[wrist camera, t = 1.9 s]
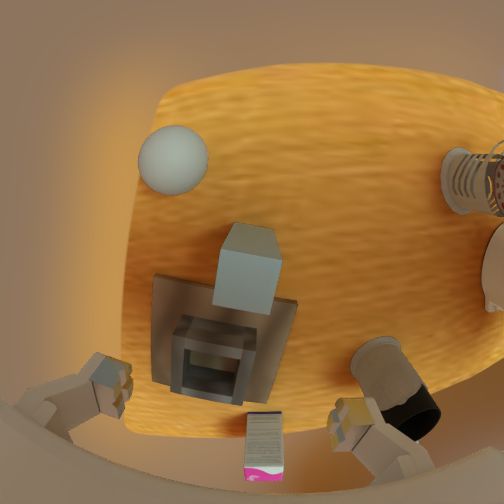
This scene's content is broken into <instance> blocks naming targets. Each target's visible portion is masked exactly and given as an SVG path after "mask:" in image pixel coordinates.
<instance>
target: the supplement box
mask: <svg viewBox="0 0 504 504" xmlns="http://www.w3.org/2000/svg"><path fill="white" fill-rule="evenodd" d="M283 459H284V458H283V435H282V412H248V414H247V426H246V440H245V456H244V473H245V480H246V481H282V478H283V470H284V460H283Z"/></svg>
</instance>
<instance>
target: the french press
mask: <svg viewBox="0 0 504 504" xmlns="http://www.w3.org/2000/svg"><path fill="white" fill-rule="evenodd" d="M503 142H504V140H503V141H501V142H499V143H498V144H497V145H496V146H495V147H494V148H493V149H492V151H491V152H490V154H472V153H471V152H469V151H468V150H466V149H465V148H457V147H456V148H454V149H452V150H451V151H449V152H448V153H447V155H446V157H445V158H444V160H443V162H442V168H441V173H440V180H441V190H442V193H443V196H444V199H445V202H446V203H447V204H448V206H449V207H450V208H451V210H452V211H454V212H456V213H458V214H460V215H463V214H469V213H470V212H471V211H473V210H474V211H478V212H482V213H486V214H490V215H494V216H497V217H504V156H503V154H504V152H502V153H501V154H492V153H493V151H494V150H495V149H496V147H497V146H498V145H499V144H501V143H503ZM476 158H478V159H477V160H476ZM482 158H485V159H484V161H480V160H481V159H482ZM491 158H493V159H497V160H496V161H495V162H489V160H490V159H491ZM499 159H501V160H500V161H499V162H497V161H498V160H499ZM487 176H490V179H491V181H492V189H493V192H492V195H491V198H490V199H489V200H488V201H487V198H488V196H489V193H490V182H489V179H488V177H487ZM493 177H494V178H493ZM494 196H495V201H494V202H493V203H492V204H491V205H489V203H490V202H491V201H492V200H493V198H494ZM495 204H497V206H496V207H495V208H493V209H492V210H491V209H490V208H491V207H493V206H494V205H495ZM498 208H499V211H497V212H496V213H494V214H493V211H495V210H496V209H498Z"/></svg>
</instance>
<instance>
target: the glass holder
mask: <svg viewBox="0 0 504 504" xmlns="http://www.w3.org/2000/svg"><path fill="white" fill-rule="evenodd" d="M350 371H351V374H352V375H353V376H354V377H355V378H356V379H357V380H358V382H359V385H360V387H361V389H362V392H363V394H364V396H365V398H367V397H372V398H374V399H375V401H376V404H377V406H378V408H379V410H380V412H381V414H382V416H383V419H384V421H385V423H386V424H390V425H392V426H393V427H394V428H396V429H397V430H399V431H400V432H401V433H403V434H404V435H406V436H407V437H409V438H410V439H412V440H413V441H414V442H416V443H417V444H419V441H418V440H419V439H421V438H422V437H424V436H425V435H426V434H427V433H429V432H430V431H431V430H432V429H433V428H434V427H435V425H436V424H437V423H438V421H439V419H440V417H441V411H440V410H439V408H438V406H437V405H436V403H435V402H434V400H433V398H432V397H431V396H430V394H429V392H428V389H427V387H426V385H425V384H424V382H423V381H422V379H421V378H420V377H419V375H418V374H417V372H416V371H415V369H414V368H413V367H412V365H411V364H410V362H409V361H408V359H407V358H406V357H405V355H404V354H403V352H402V351H401V346H400V344H399V342H398V341H397V340H396V339H395V338H393V337H389V336H382V337H377V338H375V339H372V340H370V341H368V342H367V343H365V344H364V345H363V346H361V347H360V348H359V349H358V350H357V351H356V353H355V354H354V356H353V358H352V360H351V363H350Z"/></svg>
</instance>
